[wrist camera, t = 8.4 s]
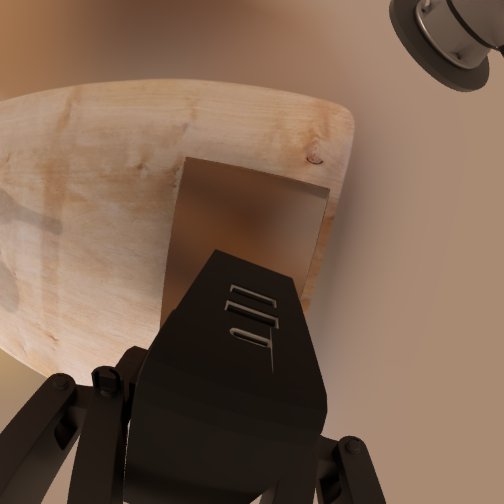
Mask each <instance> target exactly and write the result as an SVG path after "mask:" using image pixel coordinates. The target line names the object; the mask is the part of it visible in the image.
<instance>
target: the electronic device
mask: <svg viewBox="0 0 504 504" xmlns="http://www.w3.org/2000/svg"><path fill="white" fill-rule="evenodd" d="M326 415H327V394H326V390H325V387H324V383H323V379H322V376H321V372H320V369H319V365H318V361H317V358H316V355H315V351H314V348H313V344H312V341H311V337H310V334H309V331H308V327H307V324H306V320H305V317H304V314H303V310H302V307H301V304H300V300H299V297H298V294H297V291H296V287H295V284H294V281H293V278H291V277H288V276H286V275H283V274H280V273H278V272H275V271H272V270H270V269H267V268H265V267H262V266H259V265H257V264H254V263H251V262H249V261H246V260H243V259H241V258H238V257H236V256H233V255H230V254H228V253H225V252H222V251H220V250H217V249H215V250H214V252H213V253H212V255H211V256H210V258H209V259H208V261H207V262H206V264H205V265H204V266H203V268H202V269H201V271H200V272H199V274H198V275H197V277H196V278H195V280H194V281H193V283H192V284H191V286H190V287H189V289H188V291H187V292H186V294H185V295H184V297H183V298H182V300H181V301H180V303H179V304H178V306H177V307H176V309H175V310H174V312H173V314H172V315H171V317H170V318H169V320H168V321H167V323H166V324H165V326H164V328H163V329H162V331H161V332H160V334H159V335H158V337H157V339H156V340H155V342H154V343H153V345H152V346H151V348H150V350H149V352H148V353H147V355H146V357H145V359H144V361H143V364H142V366H141V369H140V372H139V375H138V379H137V383H136V387H135V393H134V400H133V406H132V413H131V420H130V427H129V435H128V444H127V453H126V464H125V476H124V492H123V501H124V502H127V503H129V504H250V503H251V502H252V501H254V500H255V499H256V498H257V497H259V496H260V495H261V494H262V493H264V492H265V491H266V490H267V489H268V488H270V487H271V486H272V485H273V484H274V483H275V482H277V481H278V480H279V479H280V478H281V477H282V476H283V475H284V474H285V473H287V472H288V471H289V470H290V469H291V468H292V467H293V466H294V465H295V464H296V463H297V462H298V461H299V460H300V459H301V458H302V457H303V456H304V455H305V454H306V453H307V452H308V451H309V450H310V449H311V448H312V447H313V445H314V444H315V442H316V441H317V439H318V438H319V436H320V434H321V433H322V430H323V426H324V423H325V419H326Z"/></svg>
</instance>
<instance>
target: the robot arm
mask: <svg viewBox="0 0 504 504" xmlns="http://www.w3.org/2000/svg"><path fill="white" fill-rule="evenodd" d="M413 15H414V20H415V23H416V25H417V28H418V30H419V31H420V33H421V35H422V36H423V38H424V39H425V41H426V42H427V43H428V44H429V46H430V47H431V48H432V49H433V50H434V51H435V52H436V53H437V54H438V55H439V56H440V57H441V58H442V59H444V60H445V61H446V62H447V63H449V64H451V65H452V66H454V67H456V68H458V69H461V70H470V69H473V68H475V67H477V66H479V65H480V63H481V62H482V61H483V59H484V58H485V57H486V55H487V54H488V53H489V52H490V50H491V49H495V50H497V51H500V52H501V54H502V55H503V57H504V0H421V1H420V2H419V3H418V4H417V5H416V6H415V7H414V11H413ZM496 47H498V48H496ZM174 310H175V309H173V310H172V311H171V313H170V315H169V316H168V318H167V319H166V321H165V323H164V324H163V326H162V328H161V329H160V331H159V332H158V334H157V336H156V337H155V339H154V341H153V342H152V344H151V346H152V345H153V343H154V342H155V340H156V339H157V337H158V335H159V334H160V332H161V331H162V329H163V328H164V326H165V324H166V323H167V321H168V320H169V318H170V317H171V315H172V314H173V312H174ZM151 346H150V347H149V349H148V350H147V349H143V348H140V347H137V346H133V347H131V348H130V349H128V350H127V351H126V352H125V353H124V355H123V356H122V358H121V359H120V360H119V363H117V365H116V366H115V368H114V367H111V366H100V367H97V368H96V369H94V370H93V372H92V373H91V374H92V381H93V386H83V385H78V384H76V383H75V381H74V379H73V378H72V377H71V376H69V375H67V374H64V373H56V374H53V375H51V376H50V377H49V378H48V379H47V380H46V381H45V382H44V383H43V384H42V386H41V387H40V388H39V389H38V390H37V391H36V392H35V394H33V396H32V397H31V398H30V399H29V400H28V401H27V403H26V404H25V405H24V406H23V407H22V408H21V410H20V411H19V412H18V413H17V414H16V415H15V417H14V418H13V419H12V420H11V421H10V423H9V424H8V425H7V426H6V428H5V429H4V430H3V431H2V433H1V434H0V504H41V502H42V500H43V498H44V496H45V494H46V493H47V491H48V489H49V487H50V485H51V483H52V481H53V480H54V478H55V476H56V474H57V473H58V471H59V469H60V467H61V466H62V464H63V462H64V460H65V459H66V457H67V455H68V453H69V452H70V450H71V449H72V447H73V445H74V443H75V442H76V440H77V439H78V436H79V435H80V438H79V442H78V447H77V451H76V456H75V461H74V466H73V470H72V476H71V481H70V487H69V493H68V501H67V504H123V489H124V471H125V458H126V447H127V438H128V423H129V421H130V419H131V413H132V406H133V400H134V393H135V387H136V383H137V379H138V375H139V372H140V369H141V366H142V364H143V361H144V359H145V357H146V355H147V353H148V352H149V350H150V348H151ZM315 487H316V493H317V498H318V504H386V501H385V498H384V495H383V492H382V489H381V487H380V484H379V481H378V478H377V475H376V472H375V469H374V466H373V464H372V461H371V458H370V455H369V452H368V450H367V447H366V445H365V443H364V442H363V441H362V440H361V439H359V438H357V437H355V436H345V437H343V438H341V439H340V440H339V441H336V440H332V439H329V438H326V437H323V436H322V435H320V436H319V438H318V439H317V441H316V442H315V444H314V445H313V447H312V448H311V449H310V450H309V451H308V452H307V453H306V454H305V455H304V456H303V457H302V458H301V459H300V460H299V461H298V462H297V463H296V464H295V465H294V466H293V467H292V468H291V469H290V470H289V471H288V472H287V473H285V474H284V475H283V476H282V477H281V478H280V479H279V480H278V481H277V482H275V483H274V484H273V485H272V486H271V487H270V488H268V489H267V490H266V491H265V492H264V493H262V497H261V499H260V503H259V504H313V499H314V493H315Z"/></svg>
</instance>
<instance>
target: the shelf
mask: <svg viewBox="0 0 504 504" xmlns="http://www.w3.org/2000/svg"><path fill="white" fill-rule="evenodd" d="M329 192H330V189H328V188H324V187H321V186H317V185H314V184H310V183H306V182H302V181H298V180H294V179H290V178H286V177H282V176H278V175H274V174H270V173H266V172H261V171H257V170H252V169H248V168H243V167H238V166H233V165H228V164H223V163H218V162H213V161H207V160H202V159H196V158H190V157H186V158H185V162H184V167H183V171H182V176H181V181H180V186H179V191H178V197H177V202H176V207H175V213H174V219H173V225H172V231H171V237H170V244H169V250H168V257H167V265H166V272H165V281H164V289H163V298H162V308H161V319H160V329H161V328H162V326H163V324H164V323H165V321H166V319H167V318H168V316H169V315H170V313H171V311H172V310H173V309H176V307H177V306H178V304H179V303H180V301H181V300H182V298H183V297H184V295H185V294H186V292H187V291H188V289H189V287H190V286H191V284H192V283H193V281H194V280H195V278H196V277H197V275H198V274H199V272H200V271H201V269H202V268H203V266H204V265H205V264H206V262H207V261H208V259H209V258H210V256H211V255H212V253H213V252H214V250H215V249H217V250H220V251H222V252H225V253H228V254H230V255H233V256H236V257H238V258H241V259H243V260H246V261H249V262H251V263H254V264H257V265H259V266H262V267H265V268H267V269H270V270H272V271H275V272H278V273H280V274H283V275H286V276H288V277H291V278H293V281H294V284H295V287H296V291H297V294H298V297H299V300H300V298H301V295H302V292H303V288H304V285H305V282H306V278H307V275H308V272H309V268H310V265H311V261H312V258H313V254H314V250H315V247H316V243H317V239H318V236H319V232H320V228H321V224H322V220H323V217H324V213H325V209H326V205H327V201H328V197H329ZM159 331H160V330H159Z"/></svg>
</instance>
